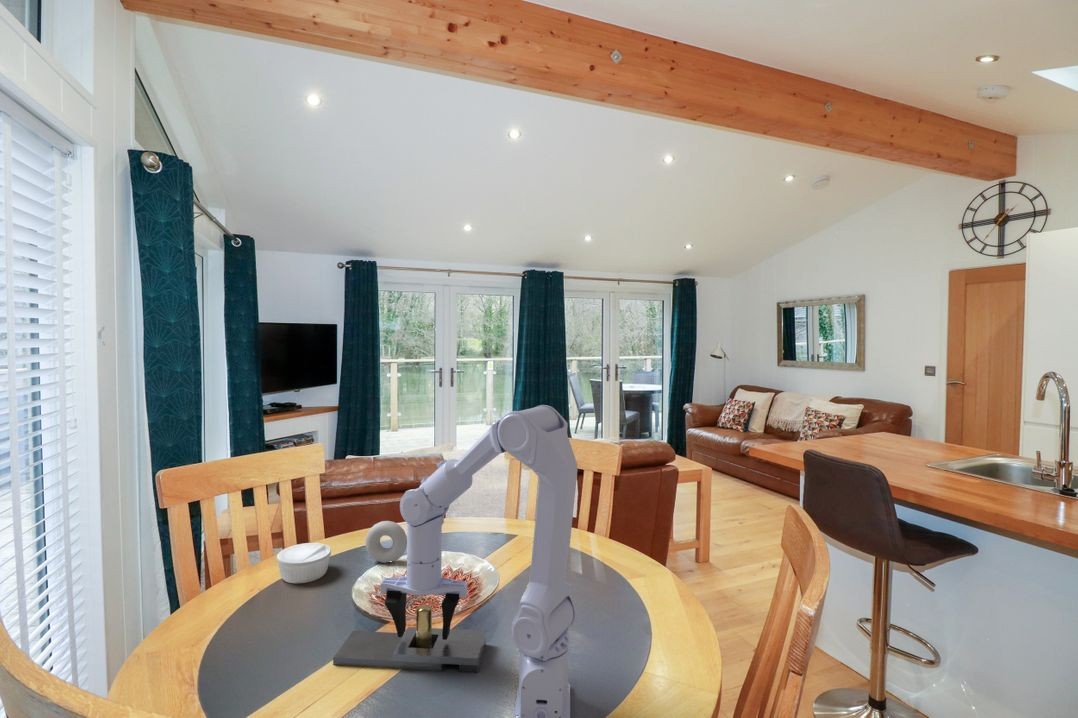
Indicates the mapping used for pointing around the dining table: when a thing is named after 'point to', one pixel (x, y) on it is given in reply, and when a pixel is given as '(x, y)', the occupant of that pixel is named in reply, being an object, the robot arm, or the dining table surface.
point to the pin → (424, 627)
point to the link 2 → (445, 648)
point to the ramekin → (303, 562)
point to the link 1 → (376, 652)
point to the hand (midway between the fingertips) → (423, 635)
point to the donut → (378, 550)
